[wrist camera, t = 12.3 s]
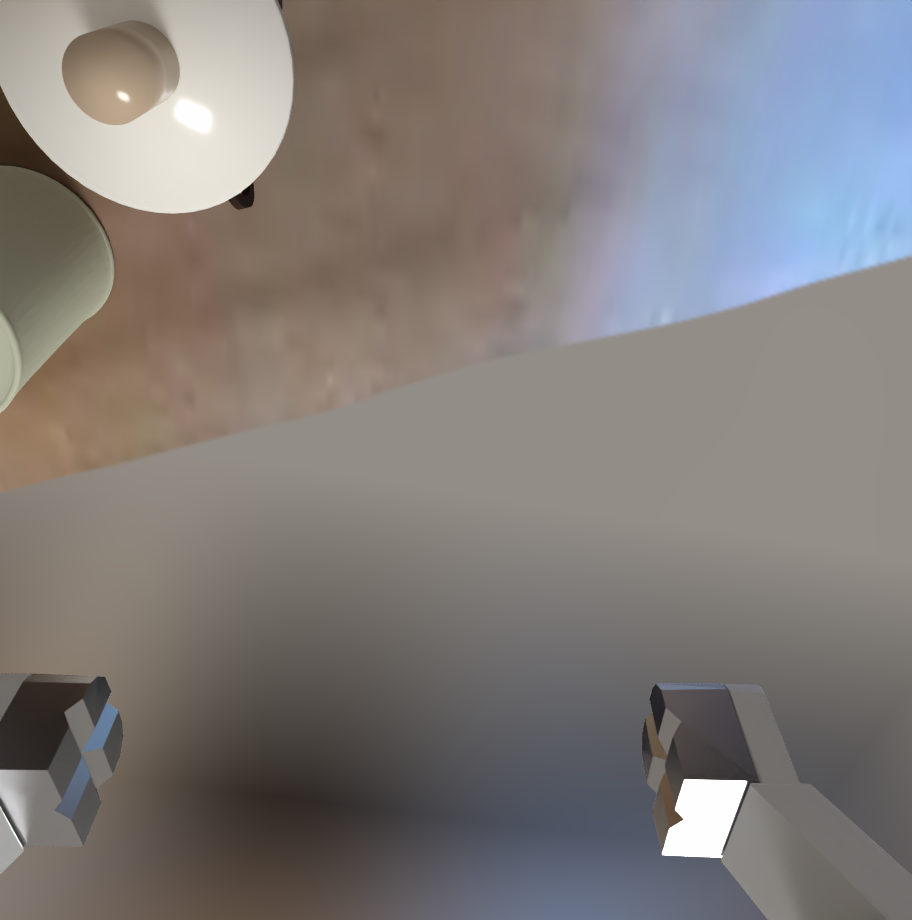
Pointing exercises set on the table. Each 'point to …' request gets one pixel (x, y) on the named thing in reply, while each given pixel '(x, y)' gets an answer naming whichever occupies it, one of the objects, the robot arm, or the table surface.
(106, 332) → the table surface
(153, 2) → the lid
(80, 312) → the can
